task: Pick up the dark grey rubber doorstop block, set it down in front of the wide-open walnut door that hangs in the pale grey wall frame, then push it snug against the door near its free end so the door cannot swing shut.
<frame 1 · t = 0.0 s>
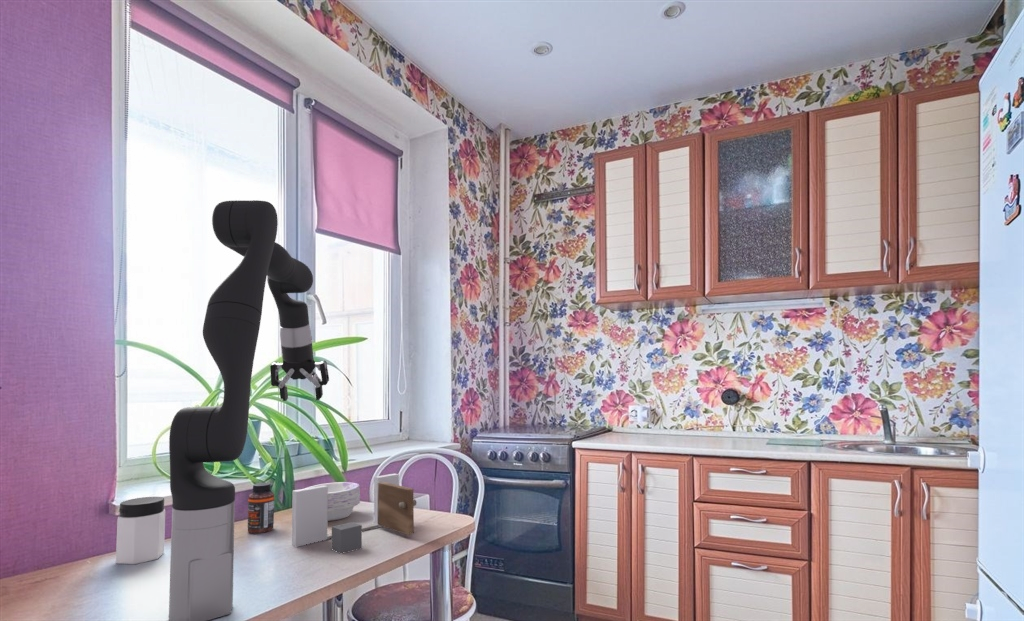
hand: (302, 399, 155), 31 cm above the table, tool tilted 20°, fingers open, 8 cm apart
door: (394, 506, 140), point 6 cm above the table, hinge at 90.0°
wall frame: (350, 532, 140), on the table
supplement bottle: (260, 531, 144), on the table
doorstop: (346, 549, 127), on the table
jar: (140, 559, 124), on the table
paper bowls: (330, 518, 156), on the table
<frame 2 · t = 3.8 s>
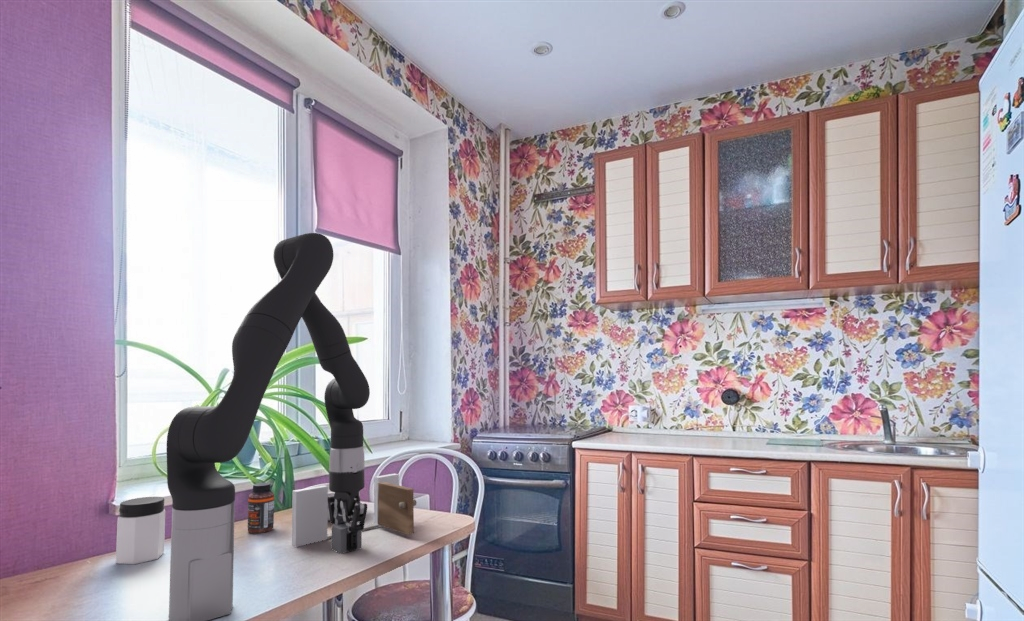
hand: (346, 547, 127), 0 cm above the table, tool pointing down, fingers closed on doorstop, 4 cm apart
doorstop: (346, 549, 127), on the table, touching gripper
everything else where it was.
when the fingers open (2 cm above the table, at t = 7.7 s): doorstop drops 1 cm, on the table.
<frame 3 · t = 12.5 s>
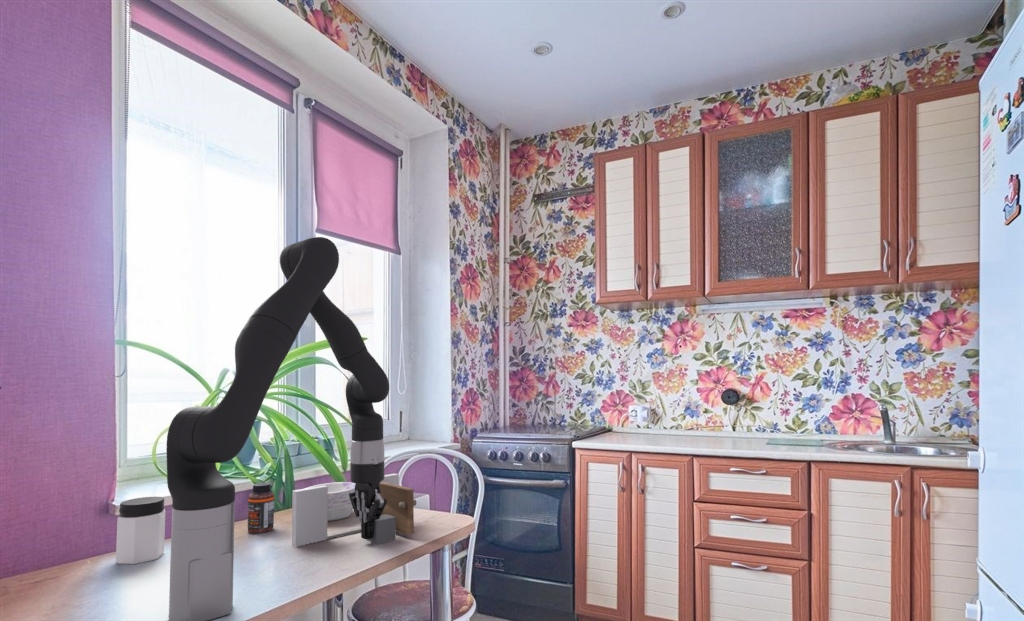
hand: (367, 538, 131), 1 cm above the table, tool pointing down, fingers closed
doorstop: (381, 540, 133), on the table, touching gripper
everything else where it was.
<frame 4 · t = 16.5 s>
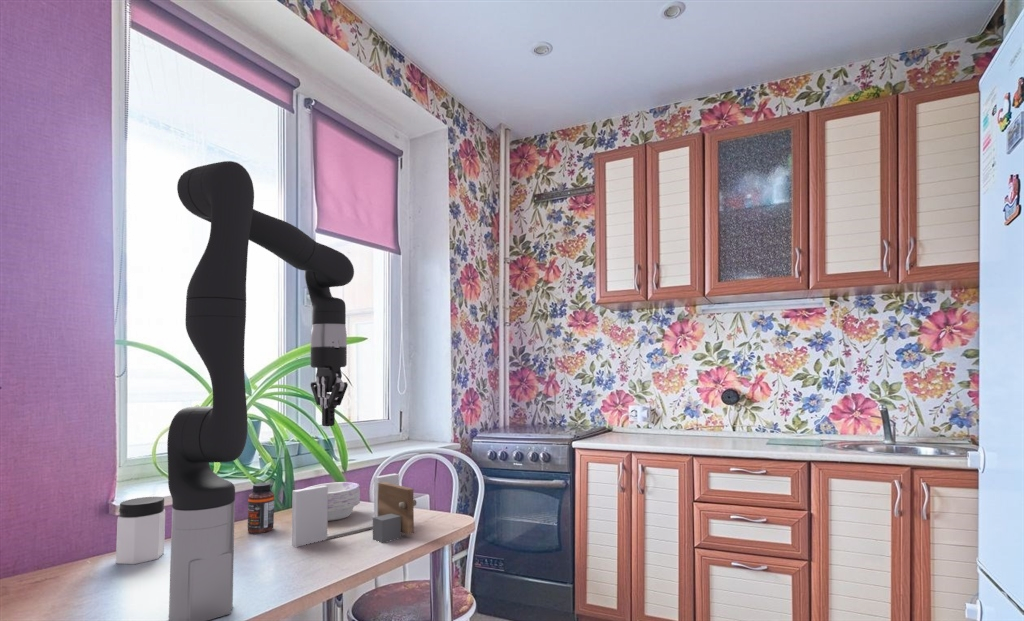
hand: (328, 425, 126), 27 cm above the table, tool pointing down, fingers closed
doorstop: (386, 539, 134), on the table
everything else where it was.
at the end: doorstop 0.9 cm from the target spot, on the table; door at +90° (first picture: +90°); doorstop tilted 0° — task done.
